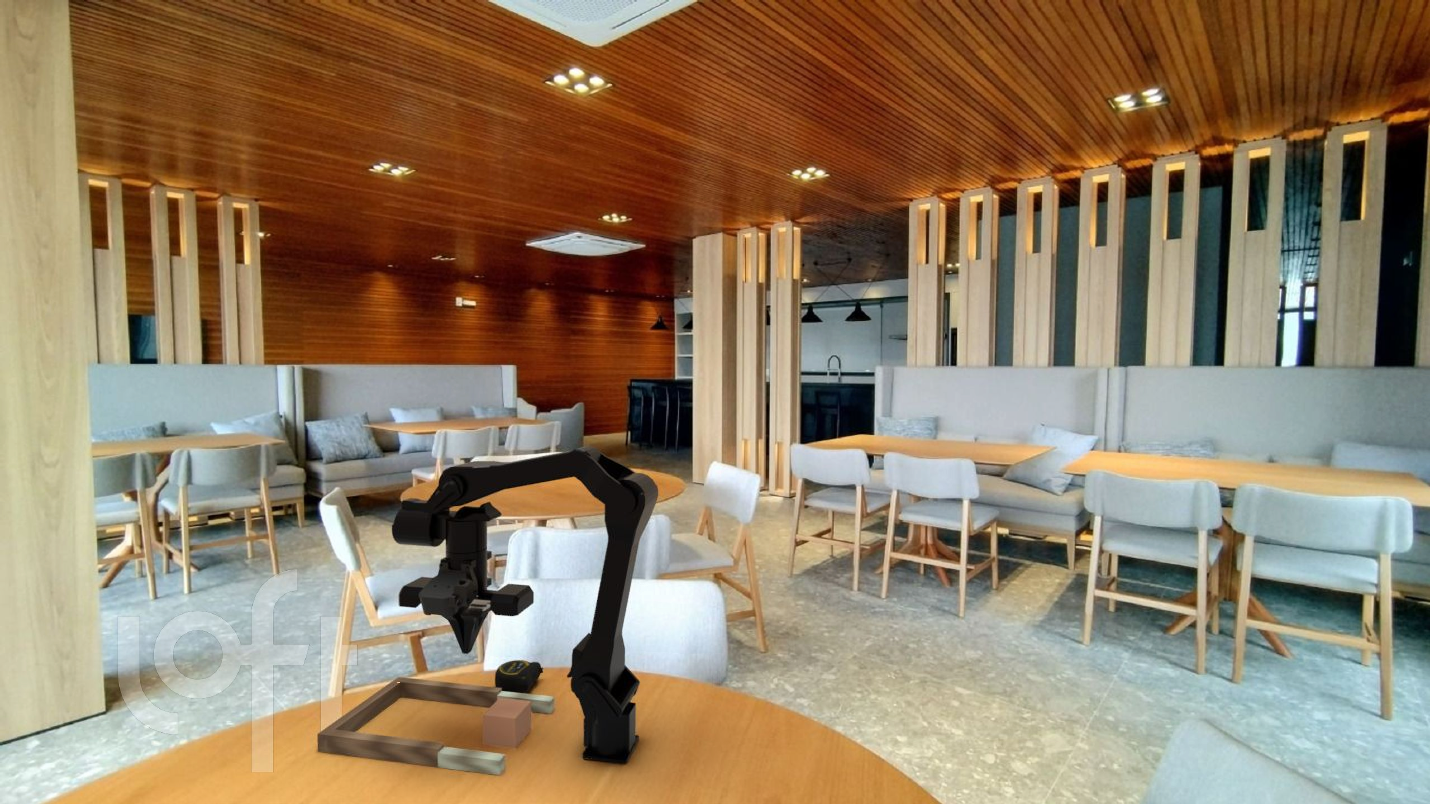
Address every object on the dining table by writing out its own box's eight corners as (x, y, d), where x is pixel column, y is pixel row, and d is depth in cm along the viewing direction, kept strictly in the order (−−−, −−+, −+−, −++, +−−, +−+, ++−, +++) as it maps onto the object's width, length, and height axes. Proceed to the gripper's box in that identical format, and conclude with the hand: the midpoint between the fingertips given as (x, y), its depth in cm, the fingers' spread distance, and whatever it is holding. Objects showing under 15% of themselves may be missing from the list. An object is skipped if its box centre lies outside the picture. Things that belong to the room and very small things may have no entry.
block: (530, 730, 99) (531, 701, 99) (515, 749, 94) (515, 718, 94) (499, 726, 100) (500, 697, 100) (482, 745, 95) (482, 714, 95)
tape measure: (526, 700, 108) (526, 678, 108) (487, 696, 109) (487, 674, 109) (543, 681, 115) (543, 660, 114) (506, 677, 116) (506, 656, 115)
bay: (554, 709, 105) (554, 693, 105) (499, 775, 88) (499, 757, 88) (398, 691, 110) (398, 676, 110) (317, 751, 93) (317, 733, 92)
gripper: (372, 559, 91) (373, 671, 91) (498, 569, 87) (498, 684, 88) (421, 539, 102) (422, 638, 102) (535, 547, 98) (535, 649, 99)
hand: (466, 652), depth 98 cm, fingers closed
